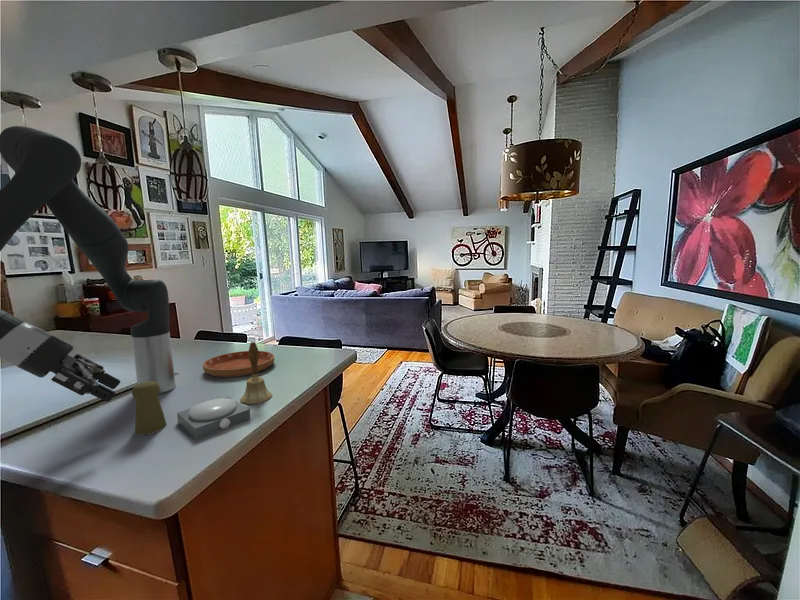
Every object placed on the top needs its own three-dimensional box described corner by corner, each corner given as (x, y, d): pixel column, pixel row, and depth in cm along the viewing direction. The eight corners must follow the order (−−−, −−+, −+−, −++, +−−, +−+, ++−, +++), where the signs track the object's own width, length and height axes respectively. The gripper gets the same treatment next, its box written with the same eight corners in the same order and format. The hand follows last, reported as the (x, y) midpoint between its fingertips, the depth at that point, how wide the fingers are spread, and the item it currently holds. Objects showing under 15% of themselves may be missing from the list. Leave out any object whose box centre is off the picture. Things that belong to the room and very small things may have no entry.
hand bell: (274, 391, 102) (270, 338, 99) (269, 403, 93) (264, 345, 91) (244, 393, 100) (240, 339, 98) (236, 406, 92) (231, 347, 90)
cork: (142, 437, 77) (135, 390, 75) (130, 430, 80) (123, 385, 79) (171, 425, 82) (166, 381, 80) (159, 419, 85) (153, 376, 84)
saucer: (252, 355, 139) (251, 347, 139) (287, 365, 126) (287, 355, 125) (191, 372, 121) (190, 362, 120) (225, 385, 107) (224, 374, 107)
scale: (178, 422, 83) (176, 408, 83) (229, 405, 92) (228, 393, 92) (197, 439, 75) (195, 424, 75) (251, 419, 84) (250, 405, 84)
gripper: (38, 341, 64) (125, 386, 72) (59, 328, 76) (131, 368, 84) (2, 375, 62) (95, 418, 70) (28, 356, 74) (106, 395, 81)
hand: (115, 391), depth 77 cm, fingers open, 8 cm apart
